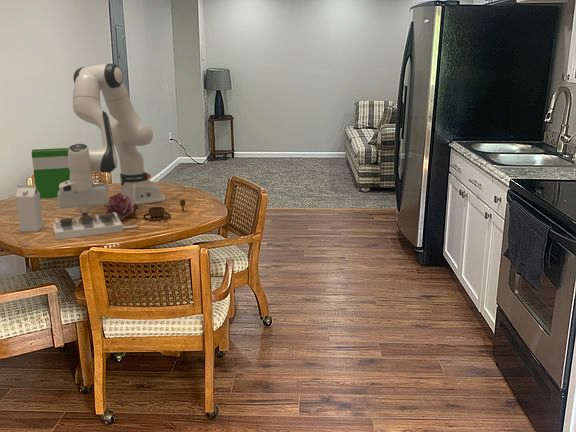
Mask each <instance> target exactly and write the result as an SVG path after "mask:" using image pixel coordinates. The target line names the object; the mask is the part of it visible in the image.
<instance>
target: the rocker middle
mask: <svg viewBox="0 0 576 432" xmlns="http://www.w3.org/2000/svg"><path fill="white" fill-rule="evenodd" d="M93 219H94V216H92V215H89V216H82V217H81V216H80V221H82V222H83V221H92V220H93Z"/></svg>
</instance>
